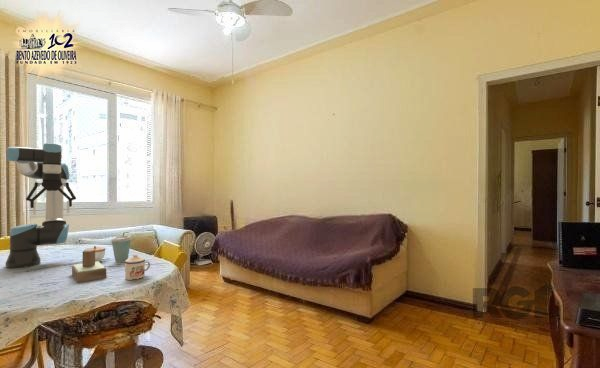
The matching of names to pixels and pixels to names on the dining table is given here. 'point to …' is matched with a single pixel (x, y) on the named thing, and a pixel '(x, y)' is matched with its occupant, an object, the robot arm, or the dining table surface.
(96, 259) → the lidded jar
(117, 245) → the disposable coffee cup
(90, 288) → the dining table surface
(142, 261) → the teacup with lid
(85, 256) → the wooden block
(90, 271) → the walnut stand
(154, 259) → the dining table surface
